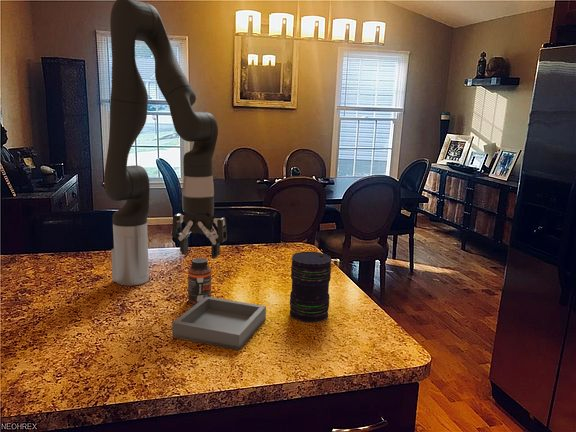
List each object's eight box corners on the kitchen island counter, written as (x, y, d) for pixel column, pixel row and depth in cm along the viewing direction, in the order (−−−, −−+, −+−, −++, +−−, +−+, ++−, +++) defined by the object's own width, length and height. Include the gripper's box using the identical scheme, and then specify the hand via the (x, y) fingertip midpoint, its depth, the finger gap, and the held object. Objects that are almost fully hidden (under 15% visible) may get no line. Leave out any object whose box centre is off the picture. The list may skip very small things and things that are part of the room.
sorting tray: (172, 337, 103) (172, 322, 103) (206, 309, 118) (206, 296, 117) (239, 350, 99) (239, 335, 98) (265, 319, 114) (265, 306, 113)
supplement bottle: (206, 306, 120) (206, 264, 117) (184, 304, 121) (183, 262, 118) (214, 298, 125) (214, 257, 123) (193, 295, 127) (193, 255, 124)
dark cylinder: (301, 325, 111) (303, 266, 108) (282, 309, 119) (284, 254, 116) (336, 318, 116) (339, 261, 112) (315, 303, 124) (318, 249, 121)
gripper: (165, 193, 115) (167, 256, 119) (217, 198, 111) (218, 263, 115) (181, 189, 122) (182, 249, 126) (230, 193, 118) (231, 254, 122)
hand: (199, 255), depth 120 cm, fingers open, 8 cm apart
